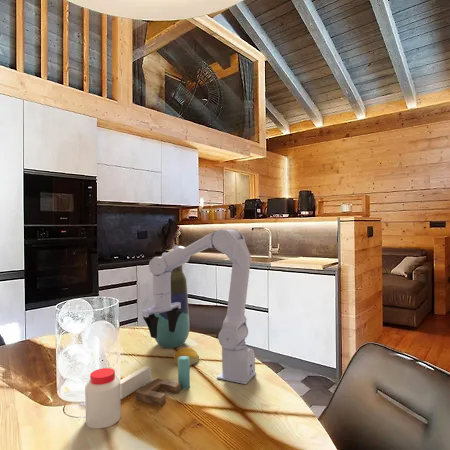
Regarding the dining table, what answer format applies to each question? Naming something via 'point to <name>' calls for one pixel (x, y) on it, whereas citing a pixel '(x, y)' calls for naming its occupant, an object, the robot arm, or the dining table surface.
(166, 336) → the vase
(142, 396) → the block
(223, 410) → the dining table surface
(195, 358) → the bread roll
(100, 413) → the pill bottle
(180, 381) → the dowel
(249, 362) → the robot arm
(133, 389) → the board
